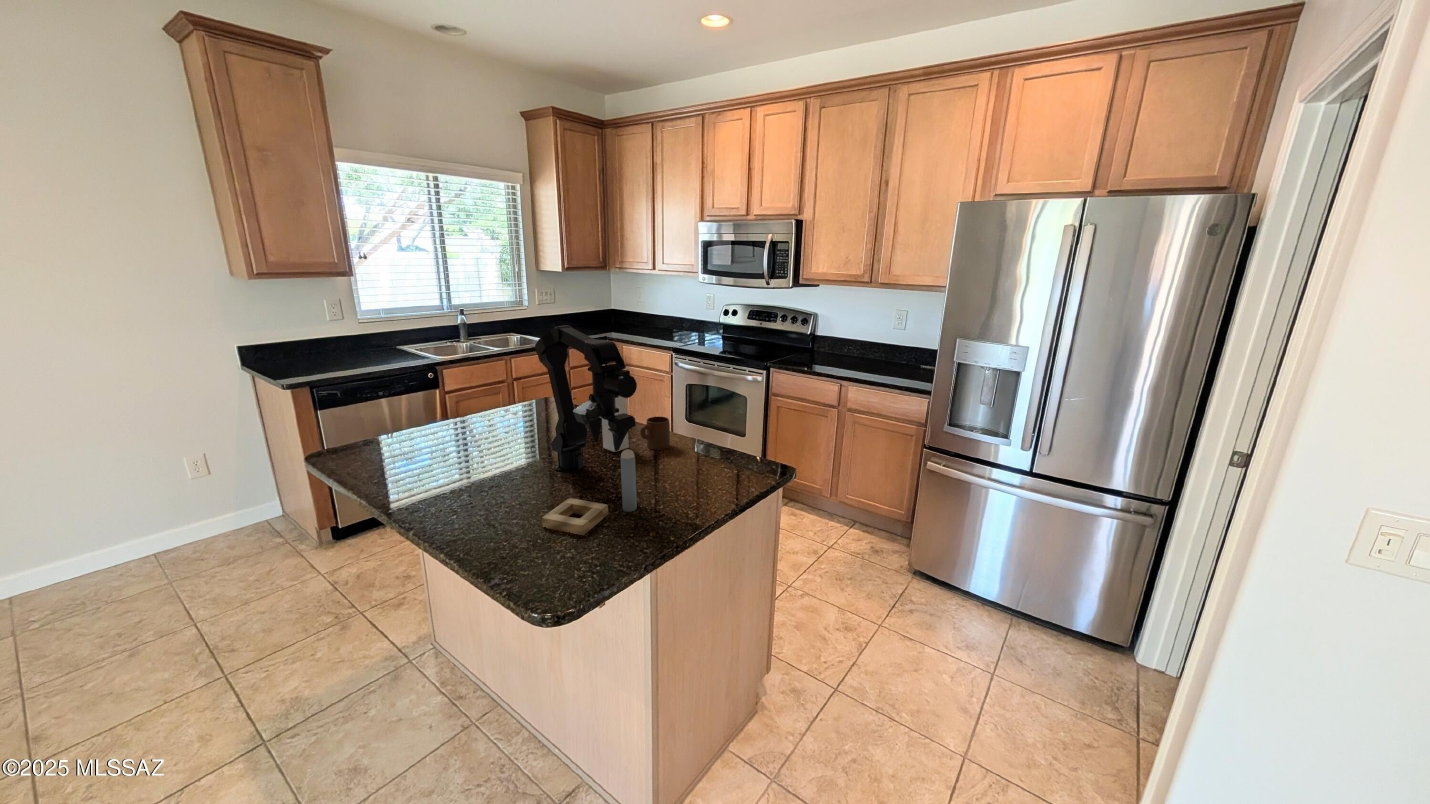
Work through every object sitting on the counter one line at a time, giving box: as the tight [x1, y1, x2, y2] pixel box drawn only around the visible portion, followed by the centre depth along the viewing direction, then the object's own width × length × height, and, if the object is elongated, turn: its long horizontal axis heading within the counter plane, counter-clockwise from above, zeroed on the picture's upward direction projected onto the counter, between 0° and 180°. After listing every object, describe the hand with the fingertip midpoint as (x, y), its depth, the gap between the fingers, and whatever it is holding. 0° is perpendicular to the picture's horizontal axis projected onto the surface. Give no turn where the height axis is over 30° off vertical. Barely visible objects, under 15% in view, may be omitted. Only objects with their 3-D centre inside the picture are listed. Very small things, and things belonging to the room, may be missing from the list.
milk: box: [601, 396, 630, 453], centre depth 172 cm, size 6×6×22 cm
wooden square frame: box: [541, 497, 609, 536], centre depth 127 cm, size 11×11×2 cm
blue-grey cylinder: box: [620, 448, 638, 513], centre depth 131 cm, size 4×4×16 cm
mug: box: [639, 416, 671, 451], centre depth 174 cm, size 12×8×9 cm, turn 145°
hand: (606, 446), depth 143 cm, fingers open, 9 cm apart
